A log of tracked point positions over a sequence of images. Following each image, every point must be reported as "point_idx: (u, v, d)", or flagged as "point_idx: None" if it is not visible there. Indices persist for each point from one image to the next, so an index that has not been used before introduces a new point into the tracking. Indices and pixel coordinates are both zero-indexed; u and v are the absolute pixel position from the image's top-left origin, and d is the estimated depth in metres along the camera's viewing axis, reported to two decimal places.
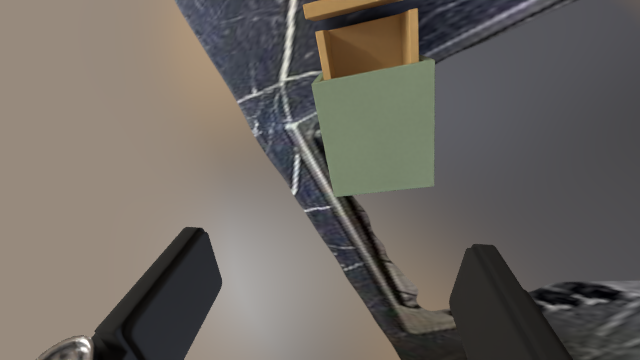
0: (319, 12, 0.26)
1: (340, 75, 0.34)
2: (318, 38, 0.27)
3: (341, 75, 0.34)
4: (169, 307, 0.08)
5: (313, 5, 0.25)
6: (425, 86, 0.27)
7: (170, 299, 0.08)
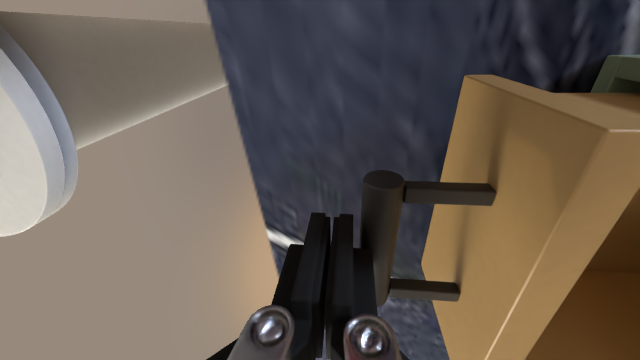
0: None
1: None
2: None
3: None
4: (323, 284, 0.08)
5: None
6: None
7: (324, 276, 0.08)
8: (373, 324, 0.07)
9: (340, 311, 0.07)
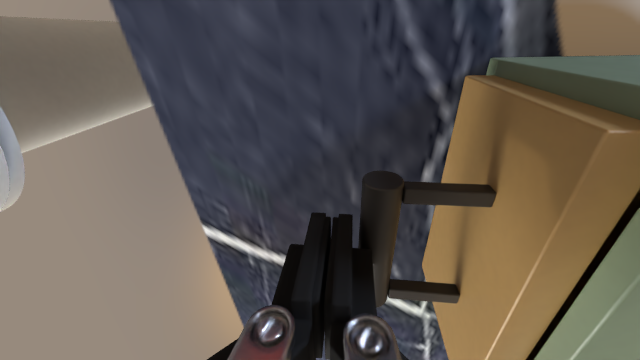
0: None
1: None
2: None
3: None
4: (324, 284, 0.08)
5: None
6: None
7: (324, 276, 0.08)
8: (373, 324, 0.07)
9: (339, 311, 0.07)
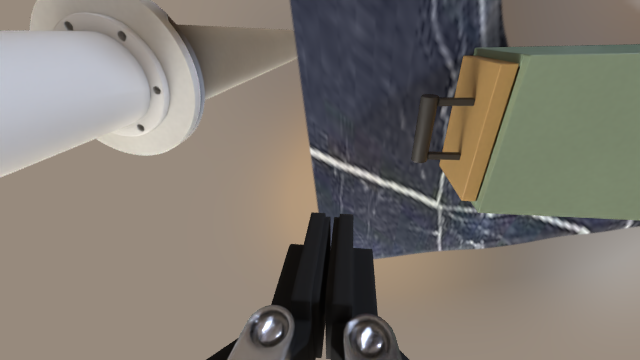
0: (477, 187, 0.23)
1: None
2: None
3: None
4: (323, 284, 0.08)
5: (467, 191, 0.23)
6: (564, 69, 0.17)
7: (324, 276, 0.08)
8: (373, 324, 0.07)
9: (340, 311, 0.07)
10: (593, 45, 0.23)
